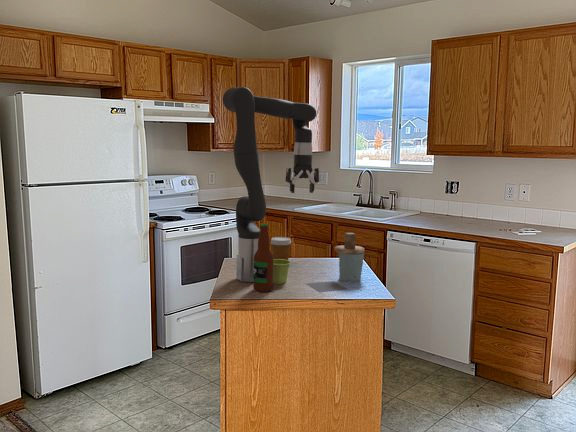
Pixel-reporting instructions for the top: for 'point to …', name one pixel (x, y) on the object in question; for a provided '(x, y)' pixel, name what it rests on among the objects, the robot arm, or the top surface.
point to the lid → (349, 245)
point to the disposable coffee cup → (280, 247)
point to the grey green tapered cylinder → (350, 267)
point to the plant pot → (280, 270)
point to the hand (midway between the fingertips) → (302, 192)
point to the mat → (326, 286)
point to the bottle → (263, 263)
